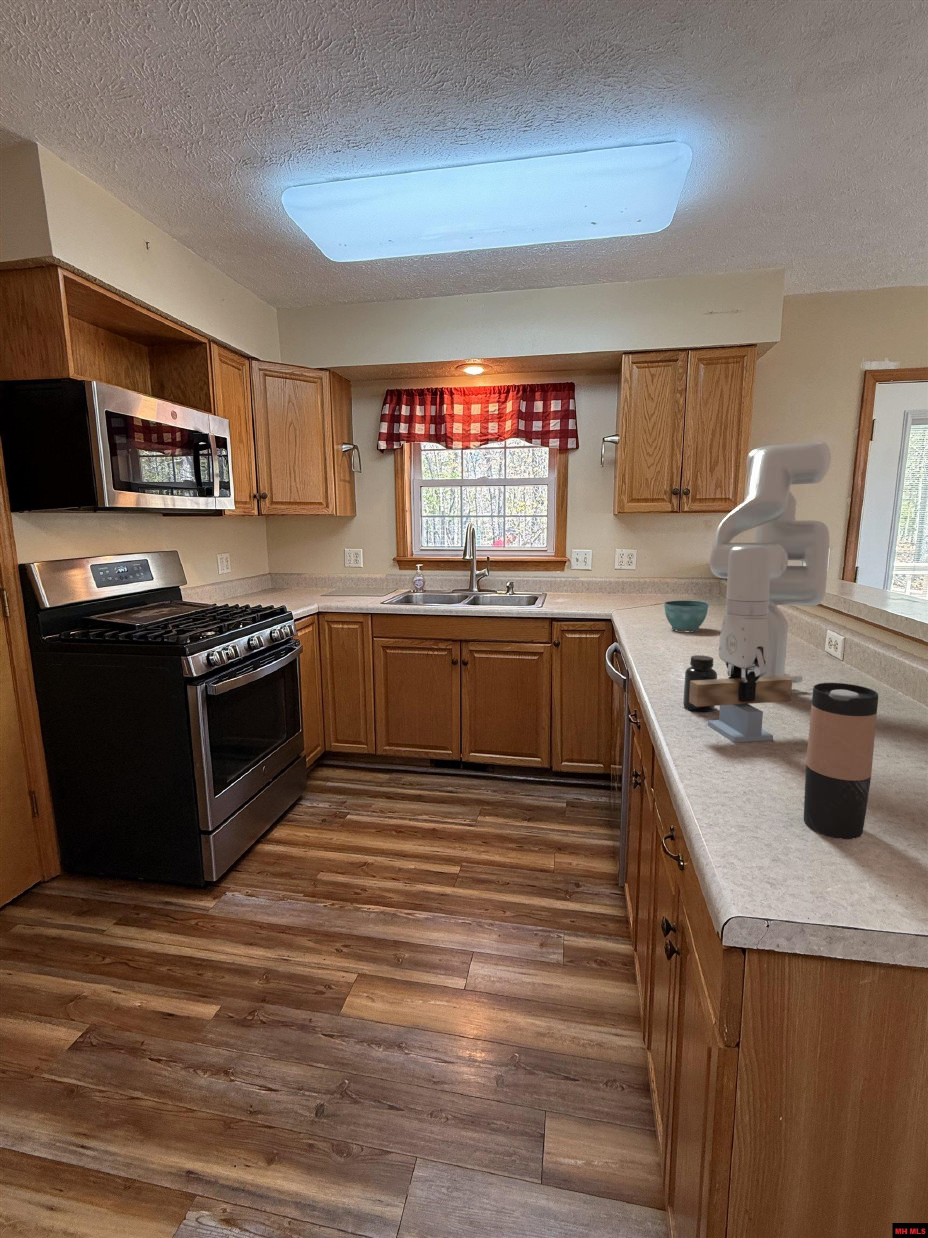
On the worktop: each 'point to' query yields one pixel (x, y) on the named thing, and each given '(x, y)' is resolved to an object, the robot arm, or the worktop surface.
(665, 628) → the worktop surface
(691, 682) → the walnut bar
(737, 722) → the fulcrum
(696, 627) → the teal bowl
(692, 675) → the supplement bottle
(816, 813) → the travel mug
